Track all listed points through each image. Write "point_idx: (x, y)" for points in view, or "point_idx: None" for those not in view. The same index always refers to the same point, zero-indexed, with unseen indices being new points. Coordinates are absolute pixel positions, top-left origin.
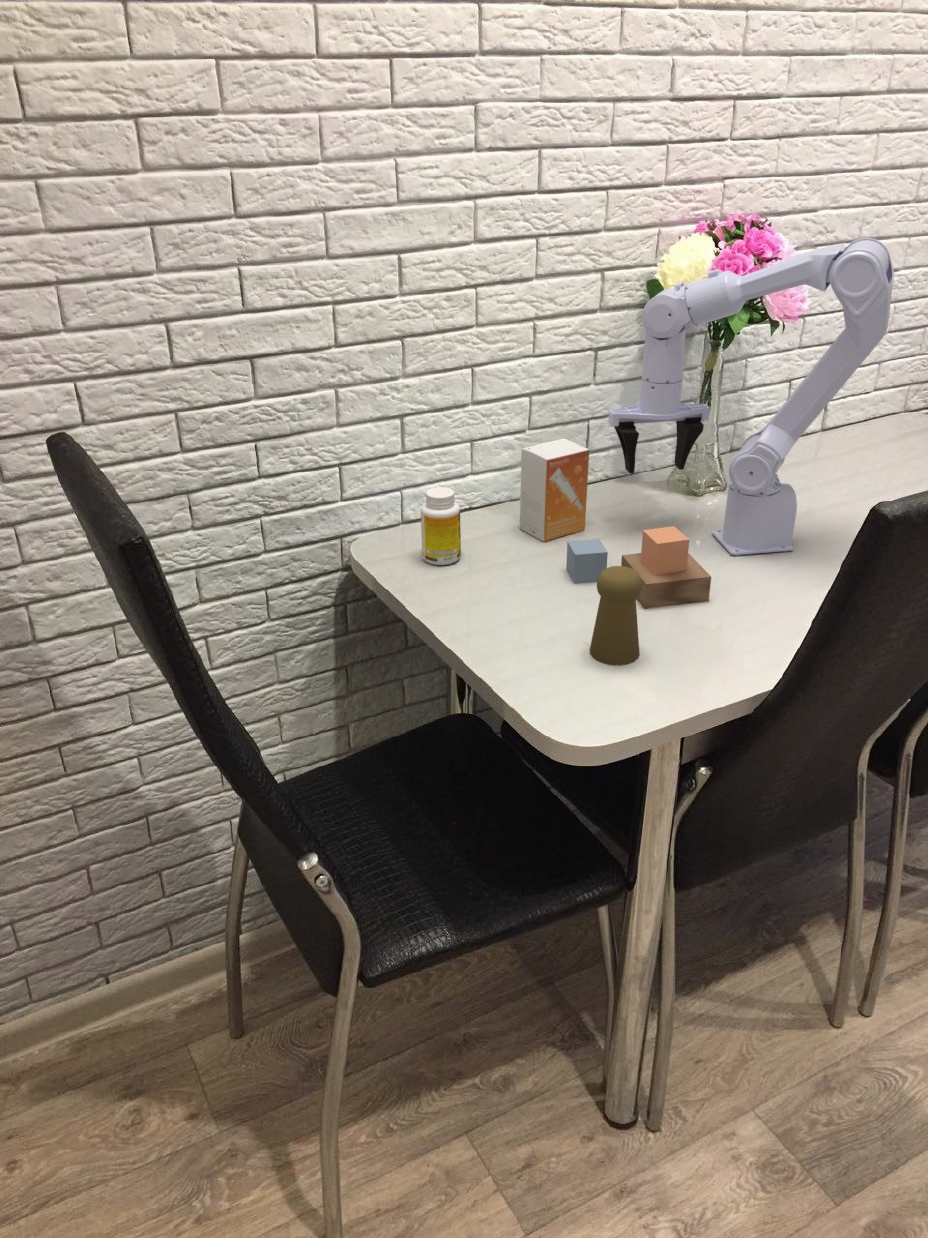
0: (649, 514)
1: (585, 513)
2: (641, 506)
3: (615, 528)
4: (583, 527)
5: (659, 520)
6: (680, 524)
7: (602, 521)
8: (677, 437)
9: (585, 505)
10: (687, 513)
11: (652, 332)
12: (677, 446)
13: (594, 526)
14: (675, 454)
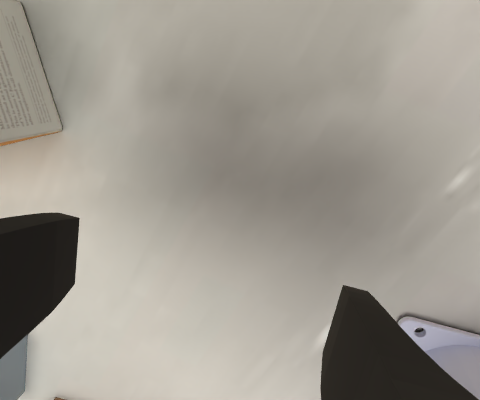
0: (310, 95)
1: (26, 137)
2: (324, 12)
3: (153, 154)
4: (52, 133)
5: (313, 155)
6: (359, 211)
7: (137, 88)
8: (383, 391)
9: (3, 142)
10: (443, 141)
11: None
12: (362, 361)
13: (100, 114)
14: (353, 310)
